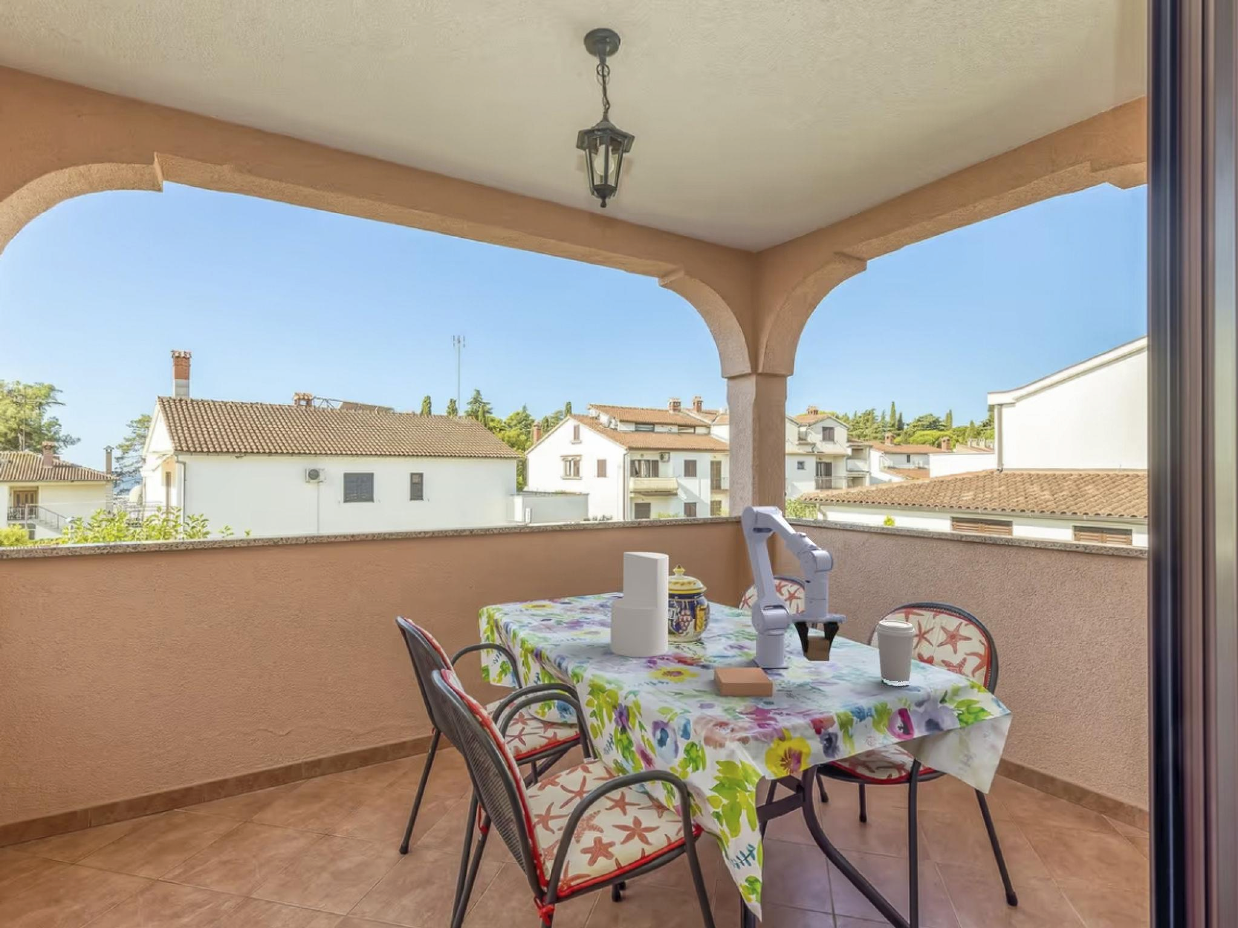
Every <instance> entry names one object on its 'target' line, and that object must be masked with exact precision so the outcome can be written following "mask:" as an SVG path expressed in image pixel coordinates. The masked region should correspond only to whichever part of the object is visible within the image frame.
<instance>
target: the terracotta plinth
mask: <svg viewBox="0 0 1238 928" xmlns="http://www.w3.org/2000/svg"><path fill="white" fill-rule="evenodd" d="M713 668H714V669H713V671H714V672H713V676H714V677H713V679H714V682H715V684H716V685H717V688H718V690H719V692H720V694H721V696H732V697H733V696H748V697H749V696H752V697H753V696H755V697H759V696H761V697H763V696H765V697H767V696H770V697H772V696H773V691H774V689H773V687H774V686H773V682H772V680H771V679H770V677H768V675H767V674H766V673H765V671H764V670H763V668H760V667H717V666H716V667H713Z"/></svg>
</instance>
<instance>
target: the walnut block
mask: <svg viewBox="0 0 1238 928" xmlns="http://www.w3.org/2000/svg"><path fill="white" fill-rule="evenodd" d="M802 655H803V657H804V658H805V659H806V660H808V661H809V662H830V653H829V640H828V639H826V638H825V637H824V635H808V651H807V653H804V652H803V651H802Z"/></svg>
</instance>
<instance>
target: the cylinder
mask: <svg viewBox="0 0 1238 928" xmlns="http://www.w3.org/2000/svg"><path fill="white" fill-rule="evenodd" d="M669 557H670V556H669V555H668V554H665V553H660V552H650V551H648V552H647V551H625V552H623V564H622V565H623V568H622V569H623V577H622V578H623V579H622V581H623V583H622V584H623V586H622V590H623V591H622V594H623V595H622V597H621V598H615V599H613V600H611V601H610V647H609V649H610V651H611V652H613V653H614V654H616V655H620V656H623V657H630V658H631V657H632V658H652V657H658V656H660V655H661V656H662V655H664V654H666V653H668V651H669V565H670V564H669V561H670V560H669V559H670V558H669Z"/></svg>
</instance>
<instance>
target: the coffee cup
mask: <svg viewBox="0 0 1238 928" xmlns="http://www.w3.org/2000/svg"><path fill="white" fill-rule="evenodd" d="M874 631H875V632H877V642H878V643H877V645H878V654H879V655H878V657H879V668H880V678H881V677H882V678H883V679H886V680H889V681H898V682H901V681H902V682H903V681H909V679H911V668H912V659H913V658H912V657H913V649H914V648H913V647H914V638H915V636H916V635H917V633H916V629H915V628H914V626H913V624H912V623H910V622H907V621H902V620H895V619H894V620H893V619H884V620H880V621H878V622H877V625H876V627H875V629H874ZM909 682H910V681H909Z"/></svg>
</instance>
